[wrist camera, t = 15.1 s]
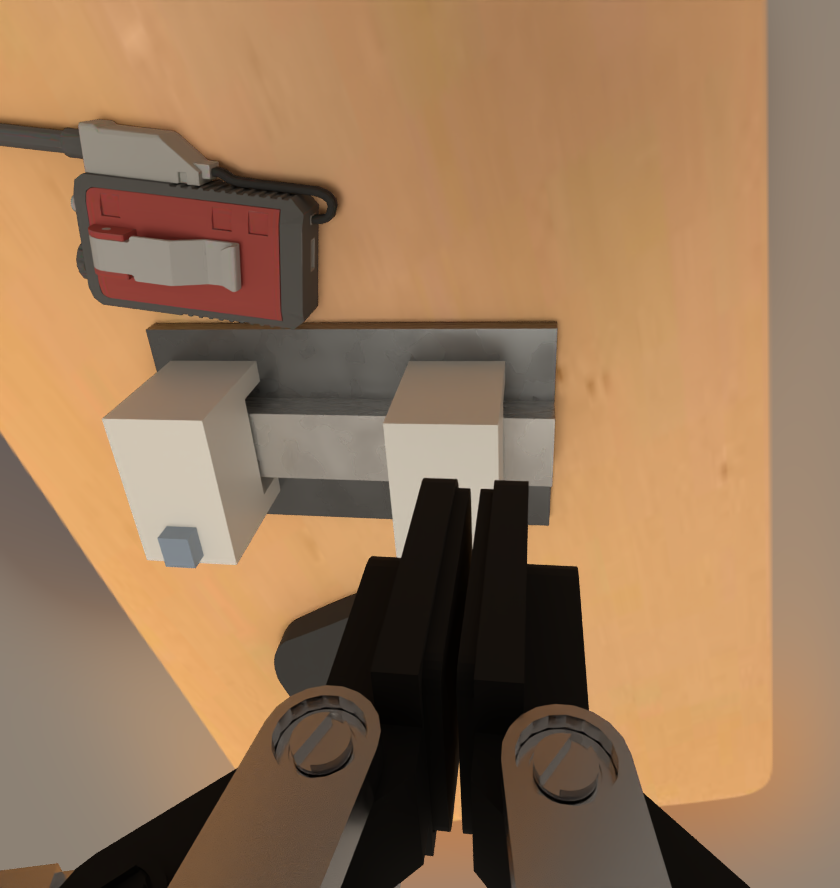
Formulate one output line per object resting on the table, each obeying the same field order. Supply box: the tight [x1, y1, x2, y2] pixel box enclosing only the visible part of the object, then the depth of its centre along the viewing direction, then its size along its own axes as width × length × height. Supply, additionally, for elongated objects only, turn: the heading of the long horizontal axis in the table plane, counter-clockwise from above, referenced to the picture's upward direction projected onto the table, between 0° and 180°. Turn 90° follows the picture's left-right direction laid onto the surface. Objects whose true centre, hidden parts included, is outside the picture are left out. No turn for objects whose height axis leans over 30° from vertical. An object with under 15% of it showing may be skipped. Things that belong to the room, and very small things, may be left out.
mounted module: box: [102, 361, 280, 568], centre depth 36 cm, size 8×5×8 cm, turn 3°
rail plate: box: [146, 322, 557, 526], centre depth 38 cm, size 12×22×3 cm, turn 93°
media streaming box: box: [274, 593, 357, 696], centre depth 48 cm, size 15×15×3 cm
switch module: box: [383, 361, 505, 558], centre depth 34 cm, size 9×5×8 cm, turn 4°
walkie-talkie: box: [0, 119, 338, 330], centre depth 34 cm, size 9×4×20 cm
